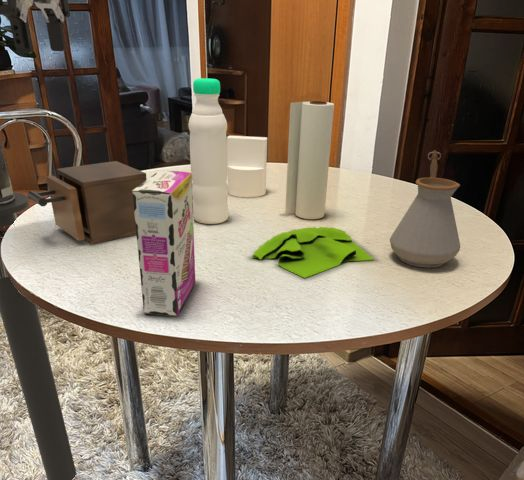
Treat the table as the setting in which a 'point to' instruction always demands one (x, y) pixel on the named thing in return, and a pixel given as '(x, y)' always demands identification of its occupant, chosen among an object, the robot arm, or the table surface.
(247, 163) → the cylinder with rectangular tab
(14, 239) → the table surface
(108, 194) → the cabinet
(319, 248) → the cloth
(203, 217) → the water bottle
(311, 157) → the paper towel roll
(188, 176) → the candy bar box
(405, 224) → the coffee pot
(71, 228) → the drawer
